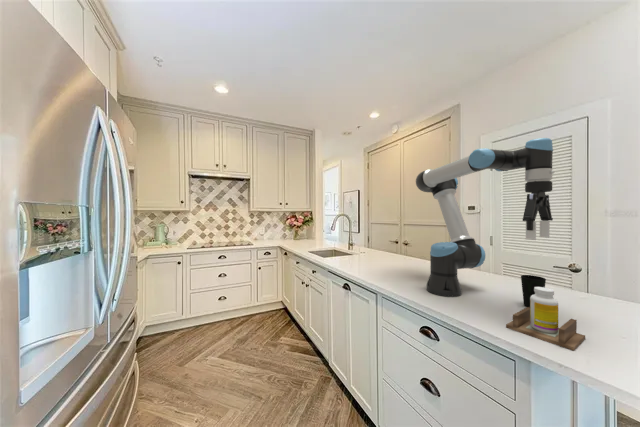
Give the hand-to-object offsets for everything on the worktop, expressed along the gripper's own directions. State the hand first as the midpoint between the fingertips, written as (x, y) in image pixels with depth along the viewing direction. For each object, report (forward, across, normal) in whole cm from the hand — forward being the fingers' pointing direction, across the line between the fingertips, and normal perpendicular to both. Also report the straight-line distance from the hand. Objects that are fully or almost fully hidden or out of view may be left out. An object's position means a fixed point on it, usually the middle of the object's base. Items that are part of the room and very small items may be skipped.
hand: (537, 238), depth 90 cm
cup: (+29, +9, +4) cm, 31 cm away
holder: (+29, -15, -6) cm, 33 cm away
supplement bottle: (+28, -15, -6) cm, 32 cm away
